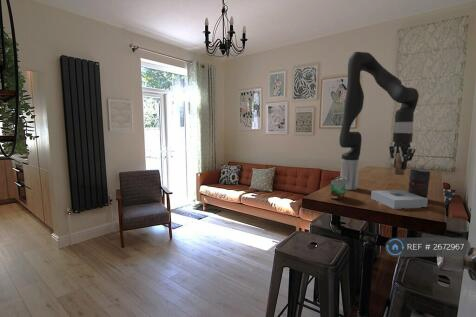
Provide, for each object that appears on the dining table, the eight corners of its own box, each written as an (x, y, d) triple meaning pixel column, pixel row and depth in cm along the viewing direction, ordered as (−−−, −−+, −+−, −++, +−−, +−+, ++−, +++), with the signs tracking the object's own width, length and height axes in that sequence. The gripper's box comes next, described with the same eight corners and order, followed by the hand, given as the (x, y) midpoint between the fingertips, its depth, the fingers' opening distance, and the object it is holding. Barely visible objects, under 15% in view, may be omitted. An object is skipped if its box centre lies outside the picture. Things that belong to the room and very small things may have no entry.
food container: (342, 201, 120) (343, 181, 118) (330, 199, 123) (330, 180, 122) (349, 196, 129) (350, 177, 128) (337, 194, 133) (337, 176, 132)
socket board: (371, 198, 125) (371, 190, 124) (400, 197, 127) (400, 189, 126) (393, 208, 109) (394, 200, 109) (427, 207, 111) (427, 198, 110)
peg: (393, 173, 118) (394, 152, 116) (400, 173, 118) (401, 152, 117) (398, 175, 114) (400, 153, 113) (405, 174, 114) (407, 153, 113)
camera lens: (419, 202, 118) (421, 171, 116) (403, 197, 126) (406, 168, 124) (431, 200, 120) (434, 170, 118) (415, 196, 128) (418, 168, 126)
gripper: (384, 131, 120) (382, 166, 122) (407, 132, 106) (404, 171, 108) (399, 131, 121) (396, 166, 123) (423, 132, 107) (419, 171, 109)
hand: (400, 168), depth 116 cm, fingers closed on peg, 3 cm apart
